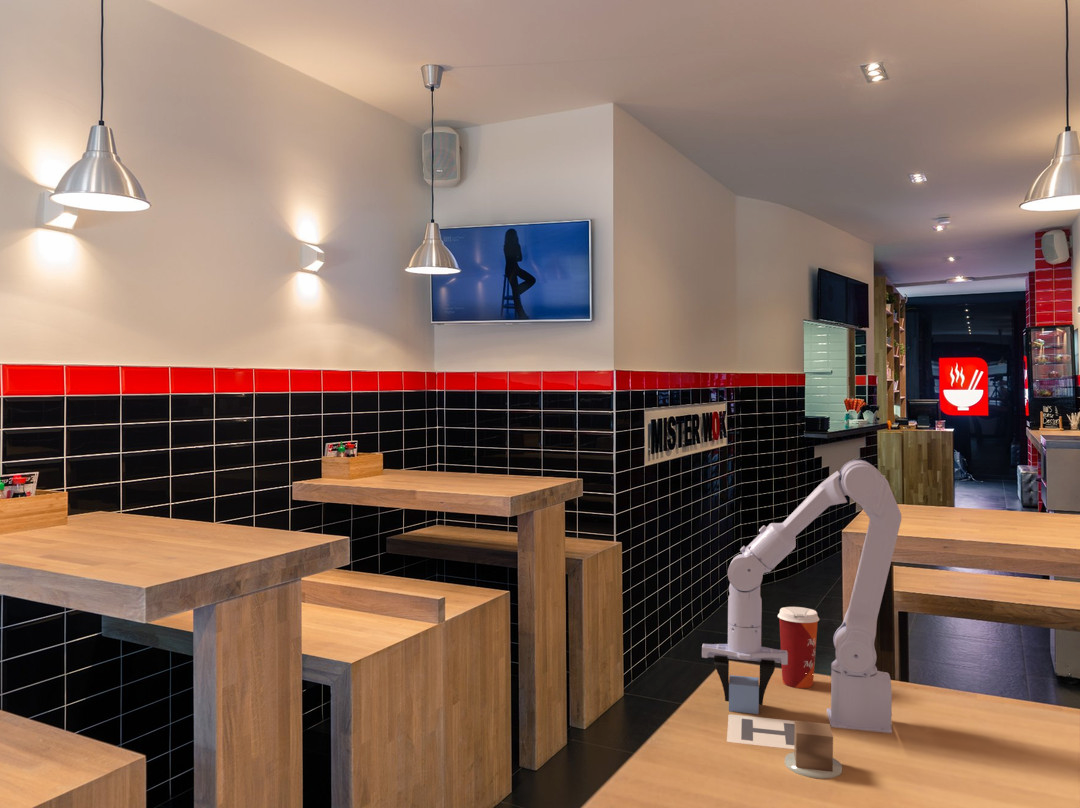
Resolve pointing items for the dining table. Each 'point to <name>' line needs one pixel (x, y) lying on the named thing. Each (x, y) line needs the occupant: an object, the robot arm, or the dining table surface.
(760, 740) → the letter card
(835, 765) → the saucer
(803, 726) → the walnut block
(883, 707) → the robot arm
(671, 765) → the dining table surface
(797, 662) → the paper cup
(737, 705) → the blue cube
